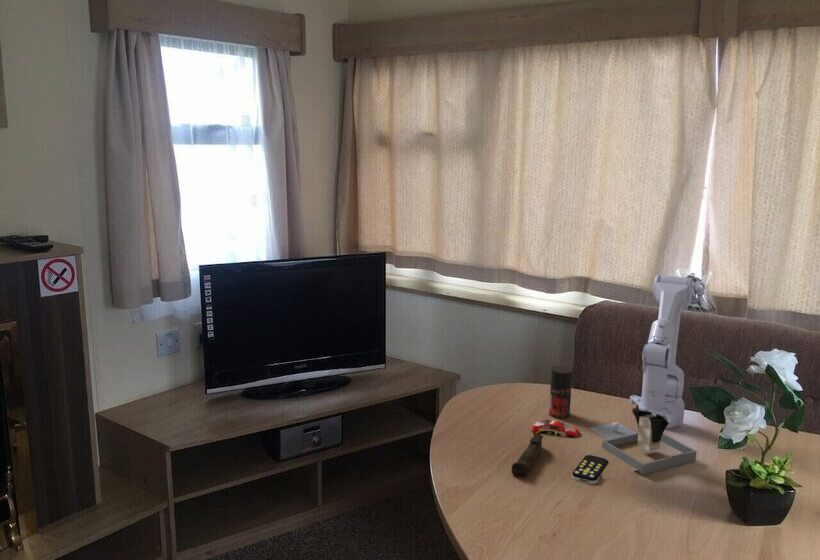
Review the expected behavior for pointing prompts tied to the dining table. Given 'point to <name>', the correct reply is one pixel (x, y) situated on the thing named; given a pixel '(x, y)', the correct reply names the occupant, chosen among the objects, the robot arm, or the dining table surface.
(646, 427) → the beige block
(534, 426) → the race car
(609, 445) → the bin
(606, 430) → the stud plate
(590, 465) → the remote control
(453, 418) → the dining table surface
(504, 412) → the dining table surface
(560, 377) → the deodorant
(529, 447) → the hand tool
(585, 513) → the dining table surface
